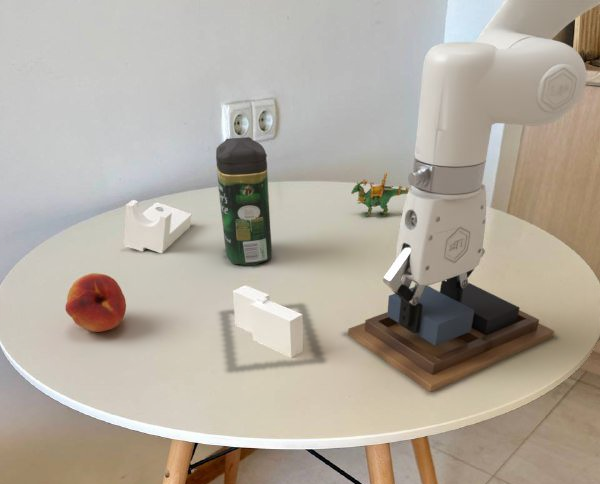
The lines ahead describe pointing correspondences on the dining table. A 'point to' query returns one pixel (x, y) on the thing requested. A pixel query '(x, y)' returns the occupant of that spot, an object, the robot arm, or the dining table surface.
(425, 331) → the pad front
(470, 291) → the pad near
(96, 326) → the fruit
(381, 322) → the wooden tray
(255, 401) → the dining table surface
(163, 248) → the bracket
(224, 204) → the coffee jar
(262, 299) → the white stepped block
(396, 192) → the figurine
